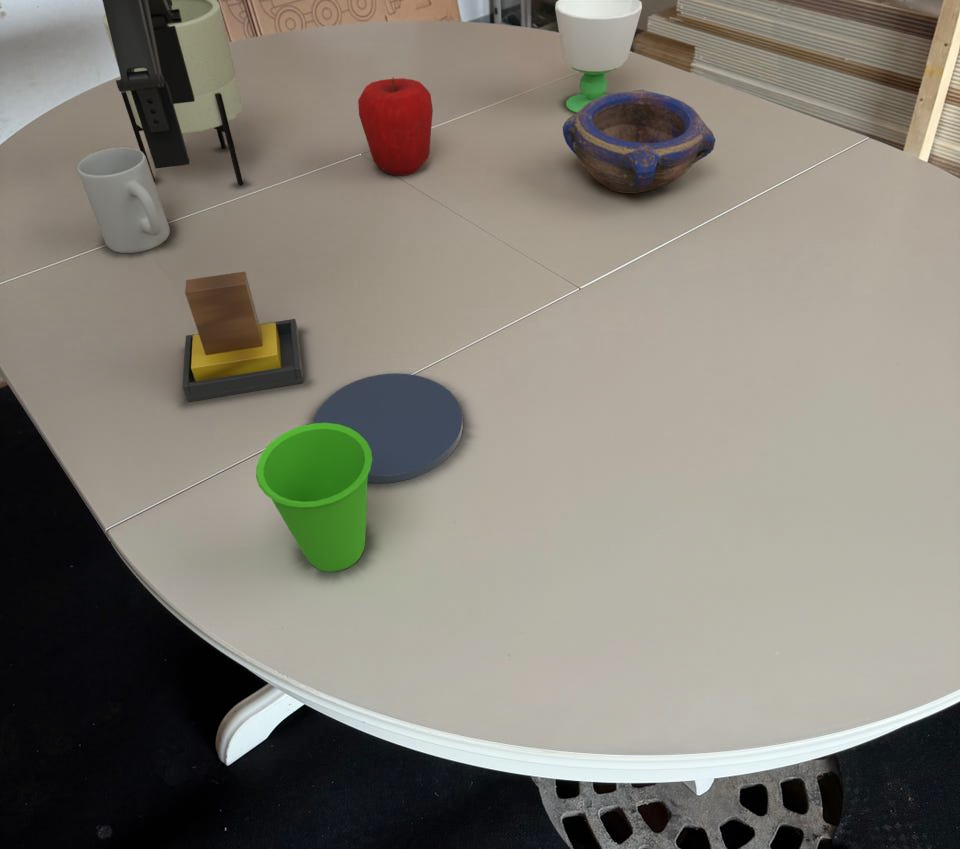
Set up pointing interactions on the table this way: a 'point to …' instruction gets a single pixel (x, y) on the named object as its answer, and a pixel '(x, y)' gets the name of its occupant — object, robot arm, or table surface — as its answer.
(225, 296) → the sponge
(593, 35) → the cup
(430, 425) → the plate
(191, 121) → the planter
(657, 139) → the bowl
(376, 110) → the apple
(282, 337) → the dish
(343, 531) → the cup
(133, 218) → the mug
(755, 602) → the table surface
